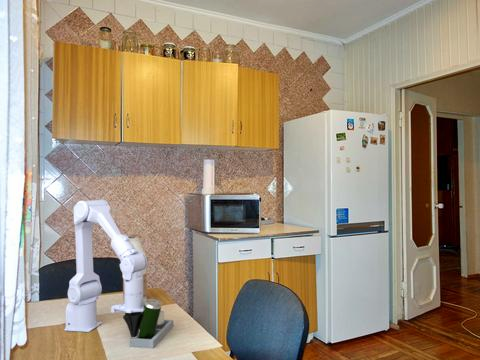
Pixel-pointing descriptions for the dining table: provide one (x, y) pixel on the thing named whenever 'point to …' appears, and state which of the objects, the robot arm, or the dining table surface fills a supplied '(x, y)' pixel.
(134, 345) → the grey piece
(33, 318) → the dining table surface
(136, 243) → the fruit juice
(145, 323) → the beer can
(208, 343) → the dining table surface
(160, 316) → the metal billet
